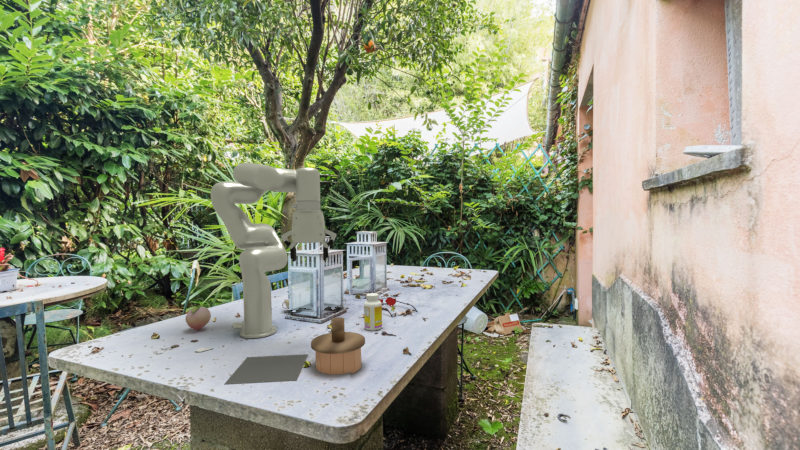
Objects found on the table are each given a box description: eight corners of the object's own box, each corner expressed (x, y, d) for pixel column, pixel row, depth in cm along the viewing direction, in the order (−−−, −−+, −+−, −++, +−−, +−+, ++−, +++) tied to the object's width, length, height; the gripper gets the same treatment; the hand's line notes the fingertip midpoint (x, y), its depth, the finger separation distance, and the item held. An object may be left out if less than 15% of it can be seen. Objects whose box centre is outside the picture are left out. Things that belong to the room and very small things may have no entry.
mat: (223, 386, 93) (223, 384, 93) (247, 359, 111) (247, 357, 111) (296, 382, 95) (296, 380, 95) (308, 356, 113) (308, 354, 113)
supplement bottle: (383, 325, 142) (382, 292, 142) (380, 331, 136) (380, 296, 135) (366, 325, 143) (365, 292, 143) (362, 331, 136) (362, 296, 136)
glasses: (395, 305, 175) (395, 295, 175) (418, 312, 162) (417, 301, 162) (370, 310, 167) (370, 299, 166) (392, 318, 154) (392, 306, 153)
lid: (307, 355, 96) (306, 328, 96) (314, 336, 111) (314, 313, 111) (365, 352, 98) (364, 325, 97) (365, 334, 113) (364, 311, 112)
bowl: (313, 377, 98) (312, 352, 98) (319, 359, 110) (319, 337, 110) (360, 374, 99) (360, 350, 99) (361, 357, 111) (361, 335, 111)
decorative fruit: (209, 332, 138) (208, 305, 138) (184, 335, 135) (183, 308, 135) (212, 325, 147) (211, 300, 147) (188, 328, 144) (187, 302, 144)
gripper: (277, 207, 114) (279, 262, 115) (334, 206, 115) (335, 261, 116) (283, 207, 121) (284, 259, 122) (336, 207, 123) (337, 258, 123)
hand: (309, 260), depth 119 cm, fingers open, 9 cm apart
